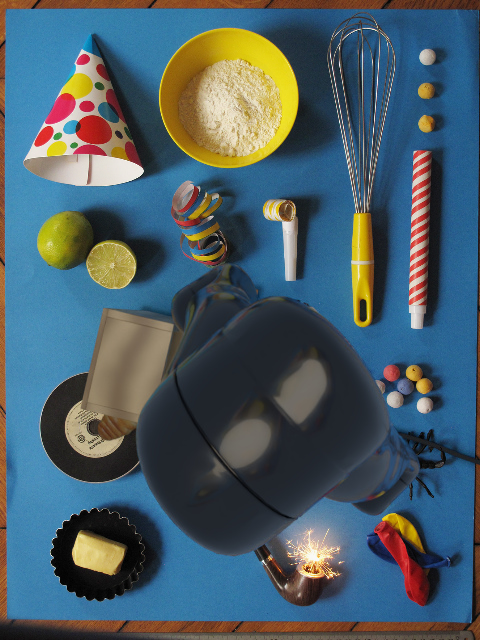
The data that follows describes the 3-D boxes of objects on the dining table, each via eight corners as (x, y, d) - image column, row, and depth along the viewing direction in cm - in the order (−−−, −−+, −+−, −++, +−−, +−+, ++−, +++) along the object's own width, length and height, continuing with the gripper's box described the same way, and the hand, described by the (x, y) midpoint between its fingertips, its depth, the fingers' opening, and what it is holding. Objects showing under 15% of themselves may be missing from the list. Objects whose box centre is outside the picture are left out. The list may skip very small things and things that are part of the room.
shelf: (195, 322, 86) (174, 324, 62) (178, 395, 86) (150, 425, 62) (144, 310, 86) (103, 307, 62) (127, 383, 86) (80, 408, 62)
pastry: (112, 446, 86) (106, 452, 82) (92, 421, 86) (85, 425, 82) (148, 418, 86) (143, 423, 82) (127, 392, 86) (121, 396, 82)
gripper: (175, 318, 68) (189, 318, 84) (260, 338, 67) (259, 334, 84) (185, 273, 68) (198, 281, 84) (271, 293, 67) (267, 297, 83)
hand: (228, 308), depth 84 cm, fingers open, 8 cm apart
